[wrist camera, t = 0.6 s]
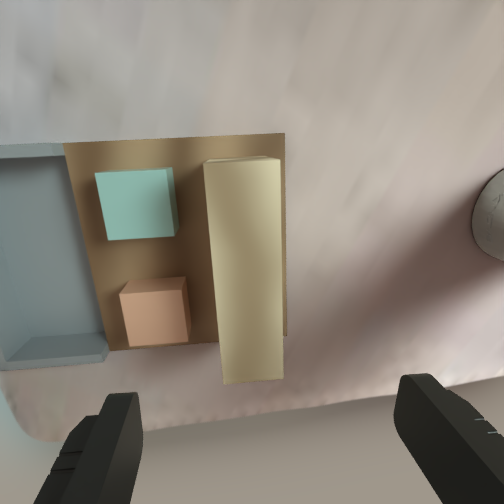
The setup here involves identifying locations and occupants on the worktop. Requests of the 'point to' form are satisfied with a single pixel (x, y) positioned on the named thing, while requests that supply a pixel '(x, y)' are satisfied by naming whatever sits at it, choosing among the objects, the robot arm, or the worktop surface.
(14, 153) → the box
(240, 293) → the cream wooden beam
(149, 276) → the board
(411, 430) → the robot arm
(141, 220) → the tile
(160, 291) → the tile
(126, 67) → the worktop surface
